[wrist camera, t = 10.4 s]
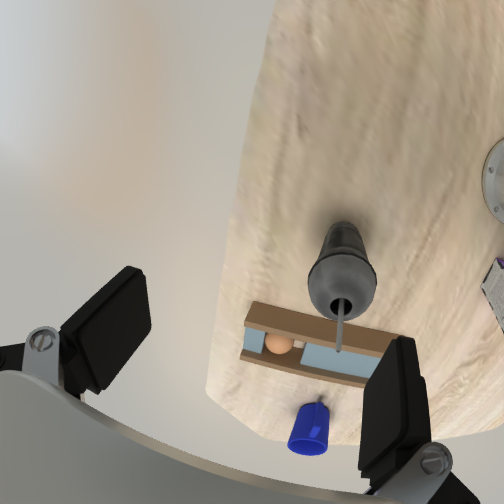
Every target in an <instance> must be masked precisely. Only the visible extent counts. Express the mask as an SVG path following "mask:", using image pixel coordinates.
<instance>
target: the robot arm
mask: <svg viewBox="0 0 504 504" xmlns="http://www.w3.org/2000/svg"><path fill="white" fill-rule="evenodd" d="M489 168H490V170H489ZM482 187H483V195H484V198H485V201H486V204H487V206H488V208H489V210H490V211H491V213H492V214H493V215H494V216H495V217H496V218H497V219H498V220H499V221H501V222H502V223H503V224H504V139H503V140H501V141H499V142H498V143H497V144H496V145H495V146H494V147H493V149H492V150H491V152H490V153H489V155H488V157H487V160H486V163H485V166H484V170H483V177H482ZM60 328H61V330H60V331H59V332H57V331H56V330H55V329H54V328H52V327H49V326H44V327H39V328H37V329H35V330H33V331H32V332H31V333H30V334H29V335H28V337H27V339H26V343H21V344H15V345H9V346H2V347H0V504H480V501H479V500H478V498H477V497H476V496H475V495H474V494H473V493H472V492H471V491H470V490H469V489H468V488H467V487H466V486H465V485H464V484H463V483H462V482H461V481H460V480H459V479H458V478H457V477H456V476H455V475H454V474H453V473H452V472H451V469H452V465H453V459H452V455H451V453H450V451H449V449H448V448H447V447H446V446H444V445H443V444H441V443H438V442H432V441H431V427H430V416H429V406H428V398H427V390H426V383H425V379H424V377H422V376H421V375H420V368H419V362H418V355H417V349H416V344H415V340H414V338H410V337H405V336H398V337H397V339H392V340H391V342H390V344H389V346H388V348H387V349H386V351H385V353H384V355H383V356H382V358H381V360H380V362H379V363H378V365H377V367H376V368H375V370H374V372H373V373H372V375H371V377H370V378H369V380H368V382H367V383H366V385H365V388H364V395H363V414H362V429H361V441H360V452H359V461H358V470H360V471H362V472H361V478H369V479H370V486H371V487H370V488H369V489H368V490H367V491H365V492H364V493H363V494H357V493H351V492H342V491H334V490H328V489H321V488H315V487H309V486H304V485H299V484H293V483H288V482H284V481H279V480H274V479H271V478H266V477H262V476H258V475H255V474H251V473H247V472H243V471H240V470H237V469H233V468H230V467H227V466H224V465H221V464H218V463H214V462H211V461H209V460H206V459H203V458H200V457H197V456H194V455H192V454H189V453H187V452H184V451H182V450H179V449H176V448H174V447H172V446H169V445H167V444H165V443H162V442H160V441H158V440H155V439H153V438H151V437H148V436H146V435H144V434H142V433H140V432H138V431H136V430H134V429H132V428H130V427H128V426H126V425H124V424H122V423H120V422H118V421H116V420H114V419H112V418H110V417H109V416H107V415H105V414H103V413H101V412H100V411H98V410H96V409H94V408H93V407H91V406H89V405H87V404H86V403H85V399H84V392H85V391H86V389H88V390H90V391H92V392H93V393H95V394H97V395H98V394H99V393H100V392H101V390H105V389H106V388H107V387H108V386H109V385H110V383H111V382H112V381H113V379H114V378H115V377H116V375H117V374H118V373H119V371H120V370H121V369H122V368H123V366H124V365H125V364H126V362H127V361H128V360H129V358H130V357H131V356H132V354H133V353H134V352H135V351H136V349H137V348H138V346H139V345H140V344H141V343H142V342H143V340H144V339H145V338H146V336H147V335H148V334H149V332H150V330H151V317H150V310H149V302H148V294H147V285H146V277H145V275H144V274H143V272H142V270H141V269H138V268H135V267H132V266H126V267H125V268H124V269H122V270H121V271H120V272H119V273H118V274H117V275H116V276H115V277H113V278H112V279H111V280H110V281H109V282H108V283H107V284H106V285H104V286H103V287H102V288H101V289H100V290H99V291H98V292H97V293H96V294H95V295H93V296H92V297H91V298H90V299H89V300H88V301H87V302H86V303H85V304H84V305H83V306H82V307H81V308H80V309H78V310H77V311H76V312H75V313H74V314H73V315H72V316H71V317H70V318H69V319H68V320H67V321H66V322H65V323H64V324H63V325H62V326H61V327H60Z"/></svg>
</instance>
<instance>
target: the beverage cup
mask: <svg viewBox="0 0 504 504" xmlns="http://www.w3.org/2000/svg"><path fill="white" fill-rule="evenodd" d="M376 286H377V278H376V273H375V271H374V269H373V267H372V265H371V264H370V263H369V261H368V258H367V254H366V251H365V248H364V245H363V241H362V238H361V236H360V234H359V231H358V229H357V228H356V227H355V226H354V225H353V224H351V223H349V222H338V223H336V224H334V225H333V226H332V227H331V228H330V229H329V231H328V233H327V235H326V238H325V241H324V243H323V246H322V249H321V252H320V255H319V257H318V259H317V261H316V262H315V264H314V265H313V267H312V269H311V270H310V272H309V275H308V290H309V294H310V298H311V301H312V303H313V305H314V306H315V308H316V309H317V311H318V312H320V313H321V314H322V315H323V316H325V317H327V318H329V319H332V320H335V321H338V324H337V337H336V349H335V352H336V353H341V349H342V335H343V321H348V320H351V319H354V318H356V317H358V316H360V315H361V314H362V313H364V312H365V311H366V310H367V308H368V307H369V306H370V304H371V303H372V301H373V298H374V294H375V290H376Z"/></svg>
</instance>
